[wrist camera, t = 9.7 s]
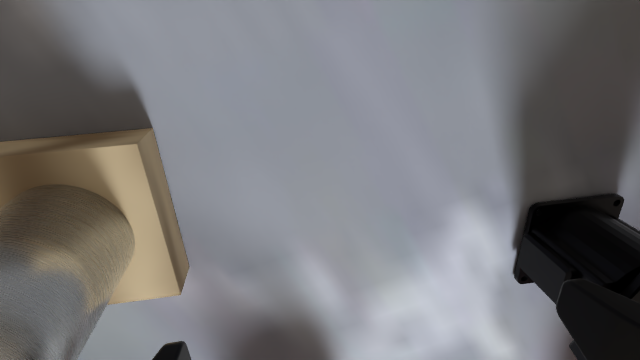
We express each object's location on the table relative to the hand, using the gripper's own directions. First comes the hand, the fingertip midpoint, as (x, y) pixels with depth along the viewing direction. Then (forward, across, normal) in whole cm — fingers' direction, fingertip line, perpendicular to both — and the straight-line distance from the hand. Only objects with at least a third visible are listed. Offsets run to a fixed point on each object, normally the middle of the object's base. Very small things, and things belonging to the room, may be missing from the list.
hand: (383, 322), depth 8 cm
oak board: (+13, +13, +3) cm, 19 cm away
